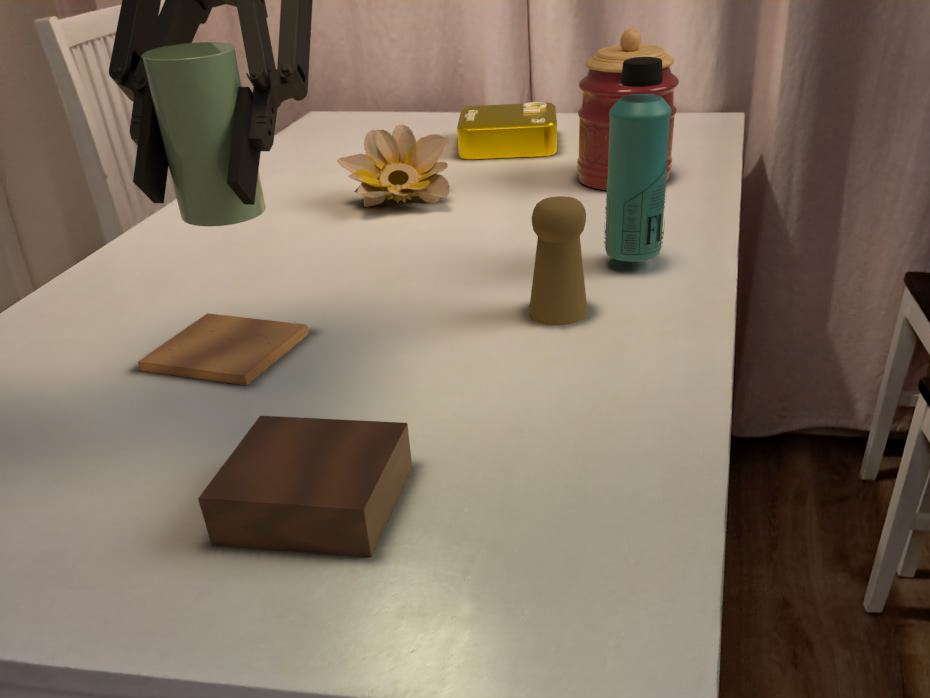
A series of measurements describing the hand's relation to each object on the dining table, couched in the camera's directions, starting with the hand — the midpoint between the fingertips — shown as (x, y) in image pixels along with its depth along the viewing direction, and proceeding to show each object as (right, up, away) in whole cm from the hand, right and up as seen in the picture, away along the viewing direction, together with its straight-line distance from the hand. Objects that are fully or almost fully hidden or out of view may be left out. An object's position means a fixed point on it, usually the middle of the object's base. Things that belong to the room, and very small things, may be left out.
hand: (194, 192), depth 62 cm
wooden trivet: (-6, -2, +29) cm, 30 cm away
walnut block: (+7, -20, +8) cm, 22 cm away
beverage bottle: (+36, +12, +42) cm, 56 cm away
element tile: (+24, +47, +82) cm, 98 cm away
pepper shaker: (+27, +3, +32) cm, 42 cm away
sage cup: (+1, +1, +4) cm, 4 cm away
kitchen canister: (+39, +34, +66) cm, 84 cm away
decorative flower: (+8, +29, +63) cm, 69 cm away
